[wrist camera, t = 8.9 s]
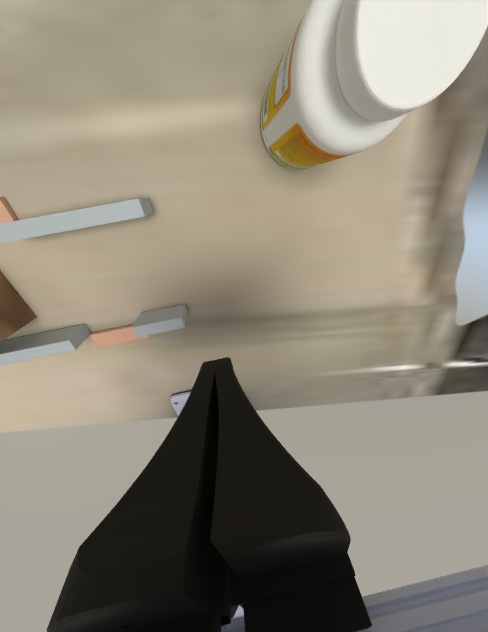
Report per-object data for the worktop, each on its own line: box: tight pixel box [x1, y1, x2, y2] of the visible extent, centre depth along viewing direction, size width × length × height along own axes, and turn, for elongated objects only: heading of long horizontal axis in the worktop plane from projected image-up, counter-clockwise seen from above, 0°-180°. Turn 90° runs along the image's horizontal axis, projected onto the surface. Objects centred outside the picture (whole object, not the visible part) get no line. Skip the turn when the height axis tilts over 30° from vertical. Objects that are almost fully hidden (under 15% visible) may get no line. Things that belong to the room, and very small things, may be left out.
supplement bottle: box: [261, 0, 488, 169], centre depth 10 cm, size 5×5×10 cm
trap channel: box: [0, 197, 188, 365], centre depth 16 cm, size 12×18×2 cm
